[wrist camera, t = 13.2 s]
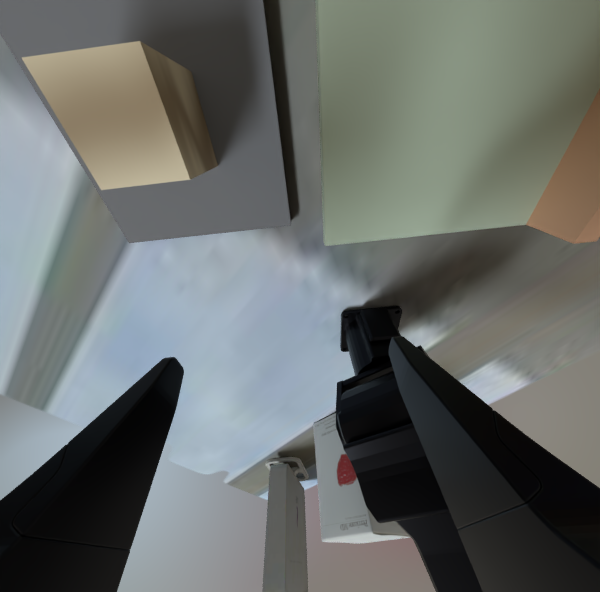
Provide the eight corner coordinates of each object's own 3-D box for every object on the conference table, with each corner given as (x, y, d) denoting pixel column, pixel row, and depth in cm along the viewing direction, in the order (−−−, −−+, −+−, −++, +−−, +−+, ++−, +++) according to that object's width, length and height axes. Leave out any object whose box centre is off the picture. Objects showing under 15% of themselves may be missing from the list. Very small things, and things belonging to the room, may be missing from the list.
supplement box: (347, 404, 37) (375, 534, 25) (378, 419, 41) (415, 537, 29) (311, 423, 41) (319, 543, 29) (342, 434, 45) (361, 545, 33)
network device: (311, 480, 65) (318, 594, 49) (282, 483, 66) (280, 596, 50) (296, 450, 49) (299, 602, 34) (259, 454, 50) (244, 605, 34)
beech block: (218, 165, 14) (190, 179, 10) (153, 173, 14) (101, 190, 10) (191, 71, 12) (139, 41, 8) (112, 82, 12) (21, 57, 8)
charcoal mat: (291, 221, 18) (290, 225, 17) (136, 238, 18) (129, 243, 17) (255, -67, 10) (252, -85, 9) (-18, -25, 10) (-44, -38, 9)
